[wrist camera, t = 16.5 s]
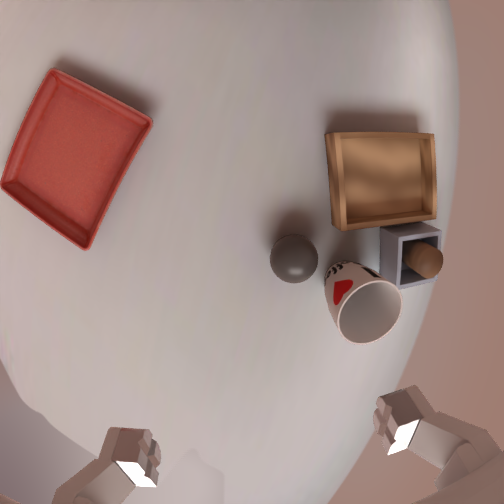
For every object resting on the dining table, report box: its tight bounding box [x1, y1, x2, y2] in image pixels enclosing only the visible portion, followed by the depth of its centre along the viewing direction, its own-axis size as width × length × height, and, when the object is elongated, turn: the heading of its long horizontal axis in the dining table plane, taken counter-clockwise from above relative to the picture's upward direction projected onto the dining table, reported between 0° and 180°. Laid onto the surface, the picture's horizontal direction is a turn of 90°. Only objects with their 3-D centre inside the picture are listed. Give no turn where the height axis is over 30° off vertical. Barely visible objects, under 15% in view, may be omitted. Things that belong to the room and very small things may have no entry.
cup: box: [325, 261, 403, 345], centre depth 35 cm, size 8×8×10 cm
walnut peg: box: [402, 239, 443, 279], centre depth 35 cm, size 4×4×6 cm
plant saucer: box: [0, 68, 153, 251], centre depth 31 cm, size 18×18×3 cm
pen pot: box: [379, 222, 442, 290], centre depth 37 cm, size 7×7×5 cm
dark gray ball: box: [270, 235, 318, 283], centre depth 35 cm, size 6×6×6 cm
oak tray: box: [324, 132, 437, 231], centre depth 34 cm, size 11×14×4 cm
